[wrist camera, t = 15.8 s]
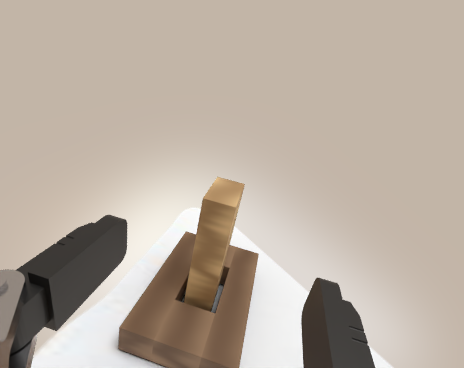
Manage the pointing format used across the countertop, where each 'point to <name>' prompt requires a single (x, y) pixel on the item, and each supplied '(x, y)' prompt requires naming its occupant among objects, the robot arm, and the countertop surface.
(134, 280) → the countertop surface
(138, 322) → the base board
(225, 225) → the plank
